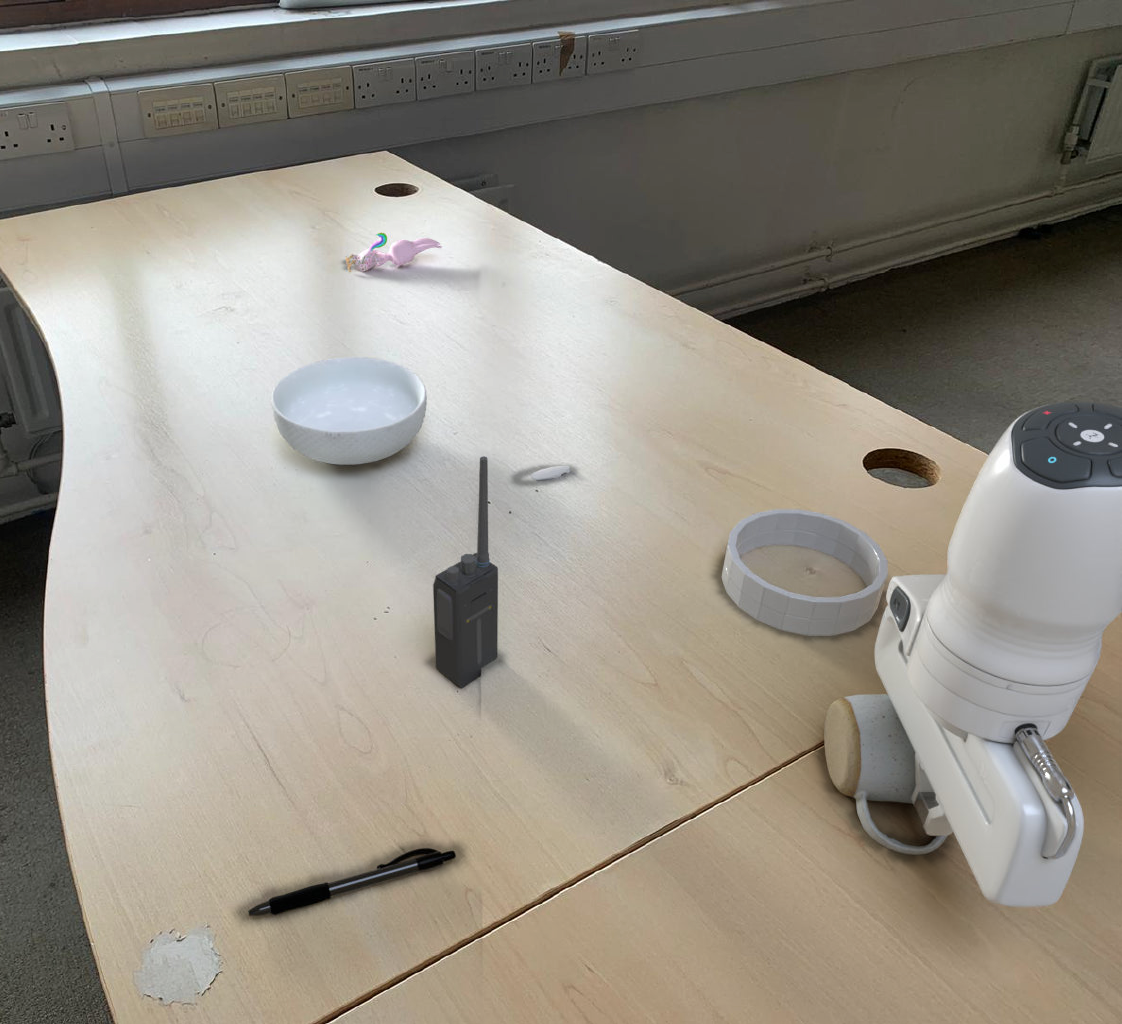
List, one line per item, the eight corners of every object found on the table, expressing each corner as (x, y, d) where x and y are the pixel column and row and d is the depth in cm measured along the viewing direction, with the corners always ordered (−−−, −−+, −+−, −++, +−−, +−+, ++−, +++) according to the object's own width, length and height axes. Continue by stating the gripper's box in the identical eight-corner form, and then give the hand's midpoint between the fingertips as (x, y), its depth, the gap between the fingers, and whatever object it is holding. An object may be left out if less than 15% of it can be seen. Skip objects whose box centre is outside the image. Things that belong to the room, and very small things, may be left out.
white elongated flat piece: (519, 494, 104) (519, 485, 103) (512, 481, 106) (512, 473, 105) (574, 481, 105) (574, 472, 104) (566, 469, 107) (565, 460, 106)
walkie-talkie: (472, 642, 85) (473, 443, 73) (500, 663, 83) (505, 461, 71) (430, 669, 82) (424, 467, 71) (457, 691, 80) (456, 486, 69)
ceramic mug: (811, 739, 76) (833, 668, 71) (922, 743, 75) (951, 672, 70) (848, 861, 67) (875, 788, 62) (973, 867, 66) (1009, 794, 62)
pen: (450, 846, 68) (449, 835, 68) (457, 866, 67) (457, 855, 66) (247, 903, 65) (245, 893, 64) (251, 926, 64) (248, 915, 63)
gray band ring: (849, 547, 95) (859, 509, 93) (897, 643, 84) (911, 602, 82) (708, 546, 96) (715, 508, 93) (738, 641, 85) (746, 601, 82)
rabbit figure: (352, 285, 153) (446, 262, 153) (343, 249, 149) (439, 225, 150) (348, 270, 158) (439, 248, 158) (339, 235, 154) (432, 212, 155)
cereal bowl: (248, 466, 109) (239, 409, 104) (325, 398, 121) (320, 346, 117) (385, 501, 103) (382, 443, 98) (451, 427, 115) (451, 372, 111)
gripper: (1148, 815, 49) (1053, 968, 57) (976, 561, 66) (921, 707, 74) (1020, 814, 50) (943, 966, 58) (881, 561, 66) (836, 706, 74)
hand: (930, 818), depth 66 cm, fingers closed
